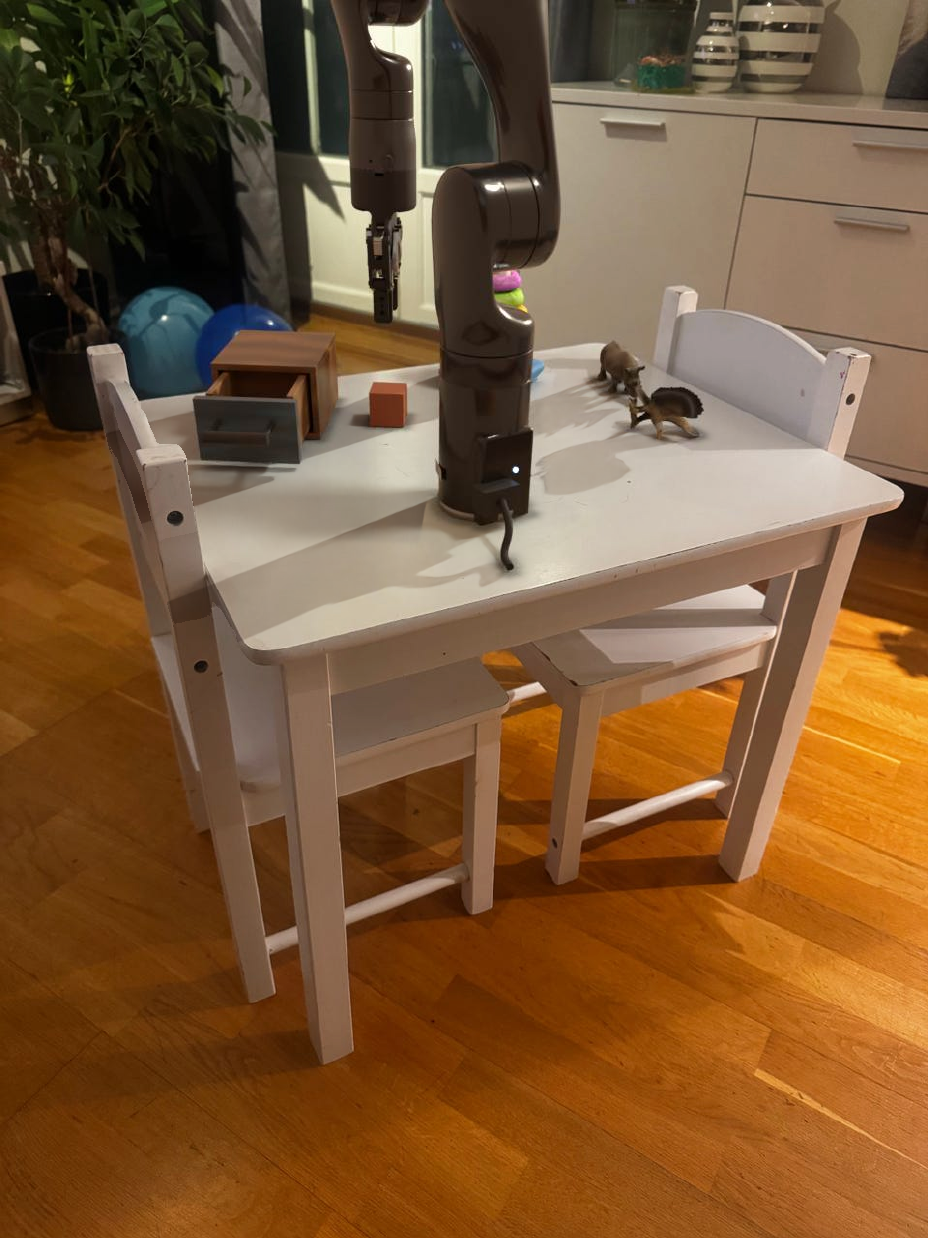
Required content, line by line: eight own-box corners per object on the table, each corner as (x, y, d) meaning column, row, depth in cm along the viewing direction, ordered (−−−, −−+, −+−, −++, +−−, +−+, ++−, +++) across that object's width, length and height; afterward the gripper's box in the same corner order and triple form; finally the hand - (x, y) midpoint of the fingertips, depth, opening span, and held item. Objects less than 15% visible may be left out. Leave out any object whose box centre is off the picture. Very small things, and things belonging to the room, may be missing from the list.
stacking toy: (474, 361, 142) (479, 197, 129) (549, 376, 136) (561, 206, 124) (427, 385, 132) (427, 209, 119) (505, 402, 126) (514, 220, 114)
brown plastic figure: (631, 436, 114) (705, 428, 112) (626, 379, 114) (701, 370, 112) (631, 448, 121) (701, 440, 119) (627, 394, 121) (697, 386, 120)
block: (404, 427, 118) (403, 394, 115) (369, 426, 118) (368, 392, 115) (407, 415, 121) (406, 382, 119) (374, 414, 121) (373, 381, 119)
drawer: (290, 483, 100) (285, 419, 96) (187, 479, 100) (177, 415, 97) (320, 421, 116) (316, 364, 112) (230, 418, 116) (224, 361, 112)
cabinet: (320, 439, 113) (315, 366, 109) (219, 435, 114) (210, 363, 109) (338, 399, 126) (335, 332, 121) (247, 396, 126) (240, 329, 121)
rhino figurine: (622, 408, 125) (627, 365, 122) (592, 376, 137) (596, 336, 133) (650, 407, 126) (656, 364, 123) (618, 375, 137) (623, 335, 134)
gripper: (358, 154, 109) (363, 300, 118) (339, 169, 97) (347, 331, 106) (421, 156, 109) (421, 302, 118) (410, 172, 97) (411, 333, 106)
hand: (386, 315), depth 112 cm, fingers open, 5 cm apart
